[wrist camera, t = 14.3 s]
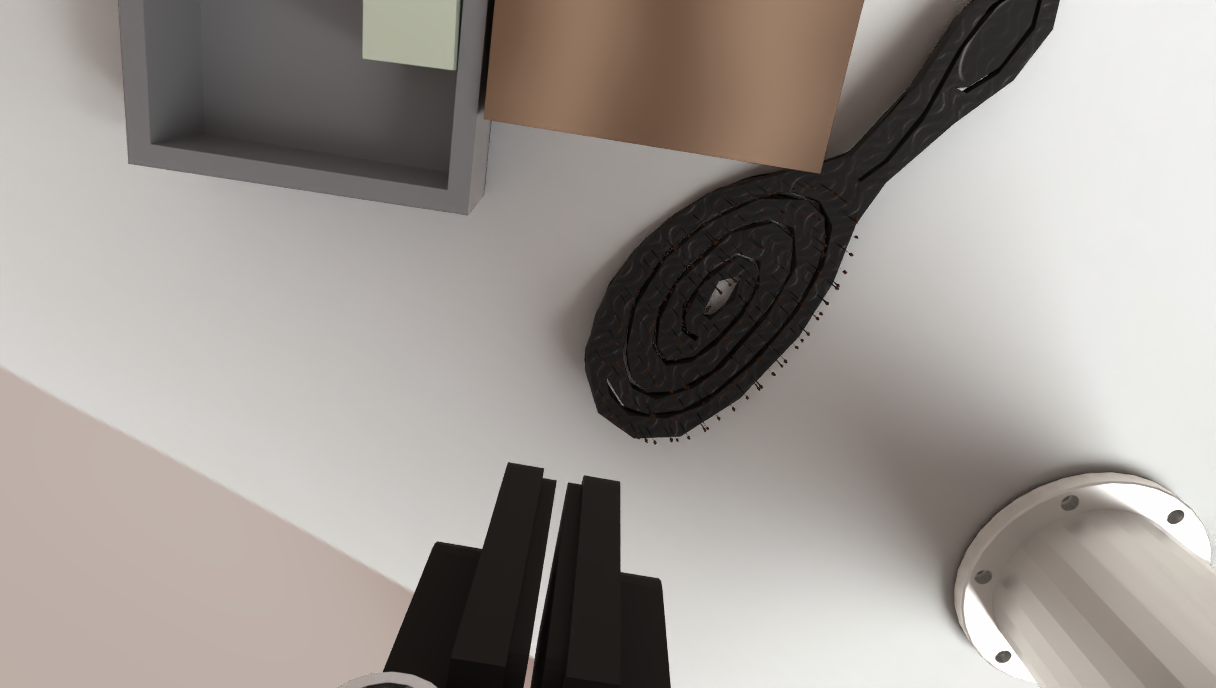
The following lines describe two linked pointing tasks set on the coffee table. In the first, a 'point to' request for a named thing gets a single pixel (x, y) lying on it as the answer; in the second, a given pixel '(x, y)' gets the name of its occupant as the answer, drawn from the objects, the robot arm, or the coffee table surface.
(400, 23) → the pale green cube
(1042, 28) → the hairbrush
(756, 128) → the brown square platform
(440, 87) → the box
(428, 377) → the coffee table surface
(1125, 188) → the coffee table surface
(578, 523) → the robot arm
